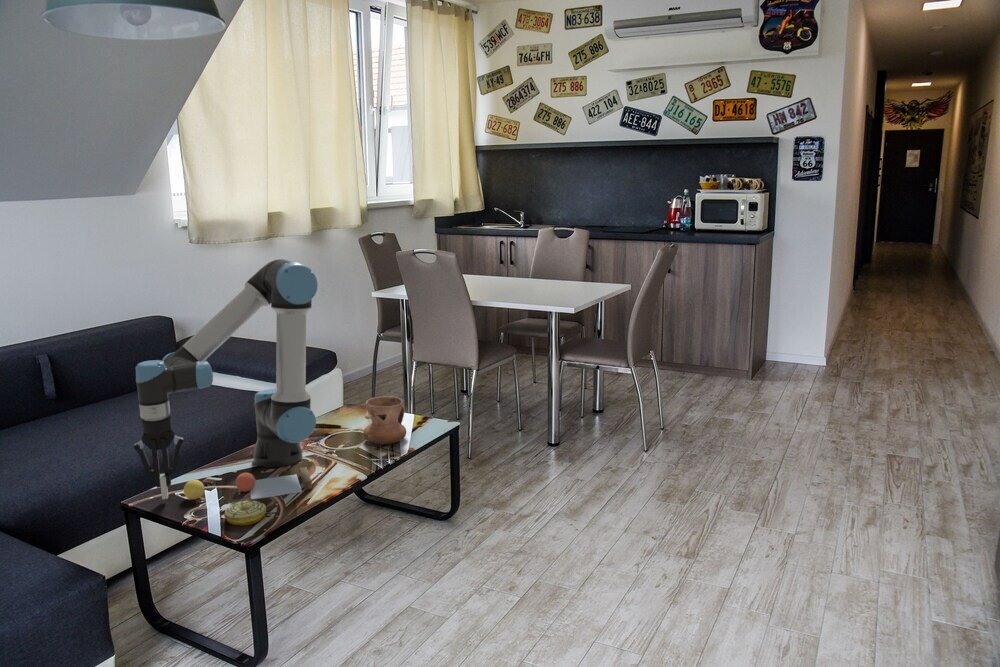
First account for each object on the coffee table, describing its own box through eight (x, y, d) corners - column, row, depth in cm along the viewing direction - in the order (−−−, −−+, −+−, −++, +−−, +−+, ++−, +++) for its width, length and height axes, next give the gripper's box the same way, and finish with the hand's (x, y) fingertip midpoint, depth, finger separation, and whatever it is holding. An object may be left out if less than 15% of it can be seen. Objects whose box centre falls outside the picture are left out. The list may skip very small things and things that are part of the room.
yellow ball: (205, 493, 228) (203, 475, 226) (205, 500, 222) (203, 482, 221) (184, 496, 226) (182, 478, 225) (184, 503, 221) (182, 485, 219)
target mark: (296, 474, 240) (296, 474, 240) (301, 492, 227) (301, 491, 227) (248, 481, 236) (248, 481, 236) (251, 499, 223) (251, 499, 223)
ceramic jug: (382, 452, 258) (381, 410, 256) (352, 443, 267) (350, 402, 264) (419, 437, 273) (419, 398, 270) (389, 429, 281) (388, 391, 278)
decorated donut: (262, 507, 218) (261, 494, 217) (270, 522, 209) (269, 509, 208) (223, 515, 213) (221, 502, 213) (229, 531, 204) (228, 517, 203)
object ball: (255, 486, 232) (254, 468, 231) (256, 493, 227) (255, 475, 226) (236, 488, 230) (234, 471, 229) (236, 496, 225) (235, 478, 224)
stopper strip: (307, 474, 240) (306, 466, 240) (312, 489, 229) (311, 481, 229) (300, 475, 240) (299, 467, 239) (305, 490, 229) (304, 482, 228)
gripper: (128, 424, 211) (138, 506, 216) (180, 417, 215) (189, 498, 220) (131, 416, 218) (140, 495, 223) (181, 410, 222) (190, 488, 227)
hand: (165, 497), depth 221 cm, fingers closed
